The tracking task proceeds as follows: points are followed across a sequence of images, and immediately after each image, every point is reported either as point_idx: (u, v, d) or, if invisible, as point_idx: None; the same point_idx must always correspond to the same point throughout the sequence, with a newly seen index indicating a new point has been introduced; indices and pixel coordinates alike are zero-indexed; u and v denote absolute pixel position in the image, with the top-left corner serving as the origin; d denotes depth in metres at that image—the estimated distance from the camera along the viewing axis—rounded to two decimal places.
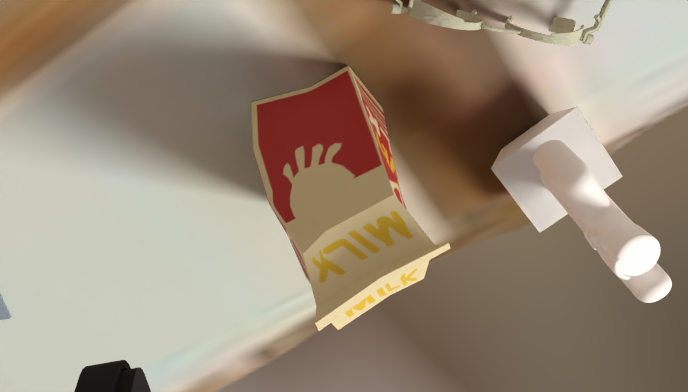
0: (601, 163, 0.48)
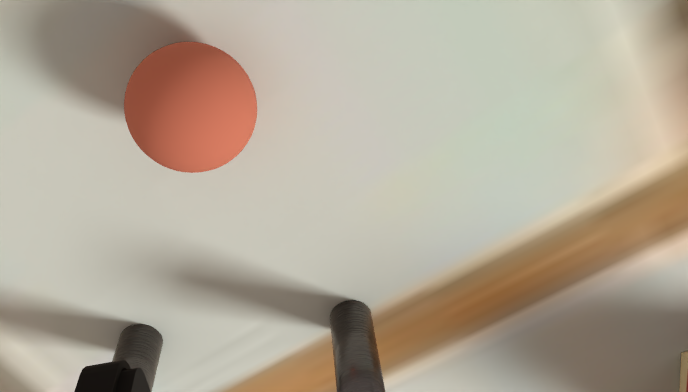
0: None
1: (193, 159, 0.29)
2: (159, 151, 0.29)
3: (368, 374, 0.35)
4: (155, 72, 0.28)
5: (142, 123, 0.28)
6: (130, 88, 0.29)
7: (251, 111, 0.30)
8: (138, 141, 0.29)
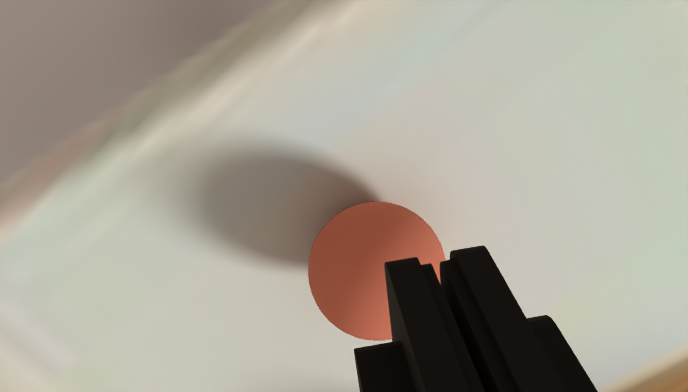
0: None
1: None
2: (357, 328, 0.27)
3: None
4: (354, 249, 0.26)
5: (340, 303, 0.26)
6: (323, 263, 0.27)
7: None
8: (331, 316, 0.27)
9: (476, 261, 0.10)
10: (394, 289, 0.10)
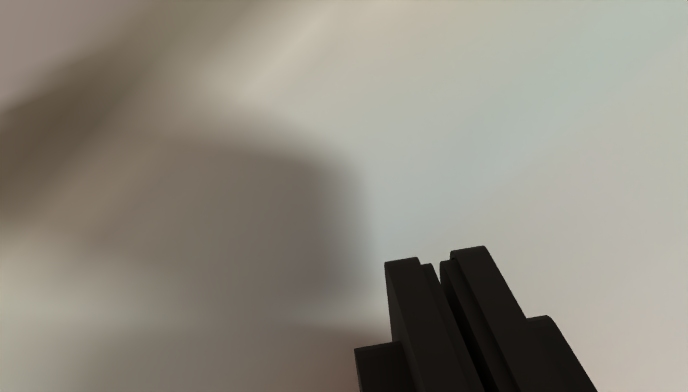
0: None
1: None
2: None
3: None
4: None
5: None
6: None
7: None
8: None
9: (476, 261, 0.10)
10: (394, 289, 0.10)
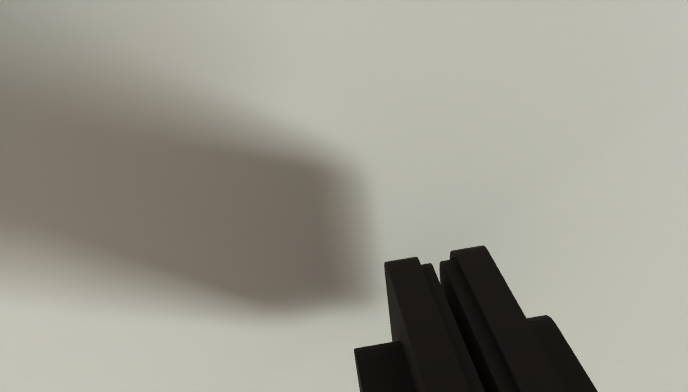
0: None
1: None
2: None
3: None
4: None
5: None
6: None
7: None
8: None
9: (476, 262, 0.10)
10: (394, 289, 0.10)
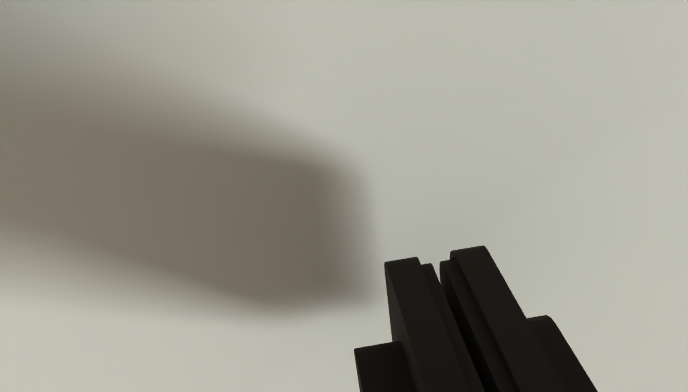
0: None
1: None
2: None
3: None
4: None
5: None
6: None
7: None
8: None
9: (476, 262, 0.10)
10: (394, 289, 0.10)
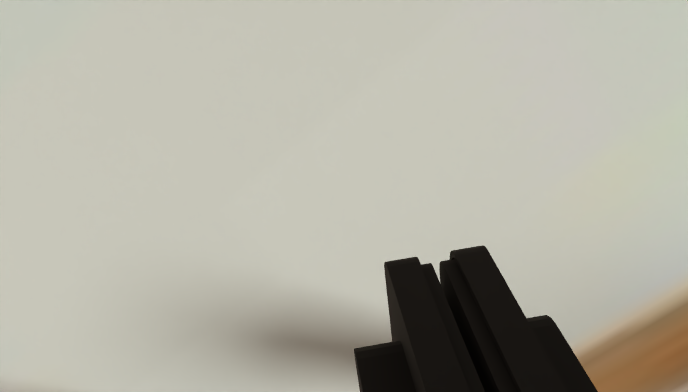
0: None
1: None
2: None
3: None
4: None
5: None
6: None
7: None
8: None
9: (476, 261, 0.10)
10: (394, 289, 0.10)
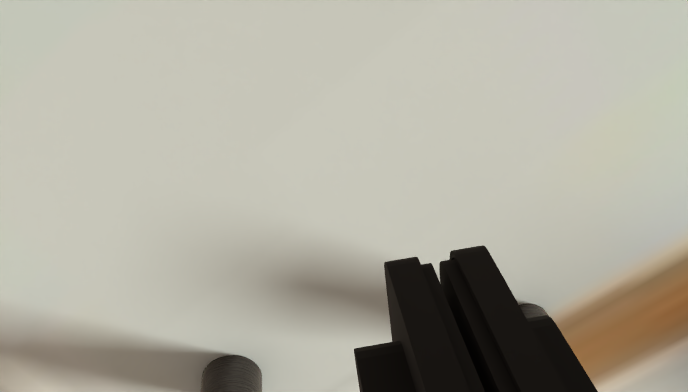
0: None
1: None
2: None
3: None
4: None
5: None
6: None
7: None
8: None
9: (476, 261, 0.10)
10: (394, 289, 0.10)
